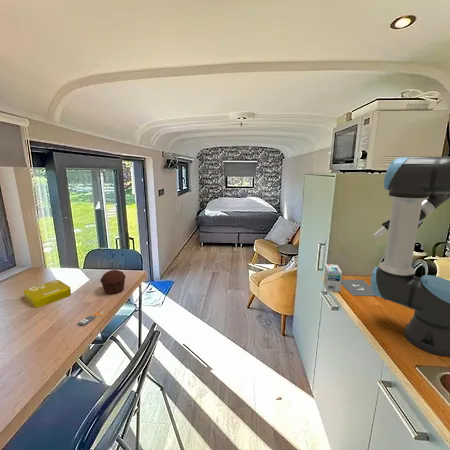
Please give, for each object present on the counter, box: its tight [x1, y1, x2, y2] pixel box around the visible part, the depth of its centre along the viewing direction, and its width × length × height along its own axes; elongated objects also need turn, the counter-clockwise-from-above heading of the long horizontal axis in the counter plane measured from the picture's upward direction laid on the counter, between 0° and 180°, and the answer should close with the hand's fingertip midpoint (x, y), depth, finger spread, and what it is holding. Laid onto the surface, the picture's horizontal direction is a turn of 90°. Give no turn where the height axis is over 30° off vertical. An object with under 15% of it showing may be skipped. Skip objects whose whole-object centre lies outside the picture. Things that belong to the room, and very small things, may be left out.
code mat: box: [341, 279, 377, 297], centre depth 134 cm, size 18×14×1 cm
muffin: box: [99, 269, 127, 296], centre depth 126 cm, size 12×11×10 cm
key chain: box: [77, 311, 104, 327], centre depth 105 cm, size 13×4×2 cm, turn 161°
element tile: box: [23, 279, 72, 308], centre depth 120 cm, size 15×15×5 cm
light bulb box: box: [323, 263, 343, 293], centre depth 133 cm, size 11×7×11 cm, turn 168°
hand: (383, 240), depth 125 cm, fingers open, 13 cm apart
